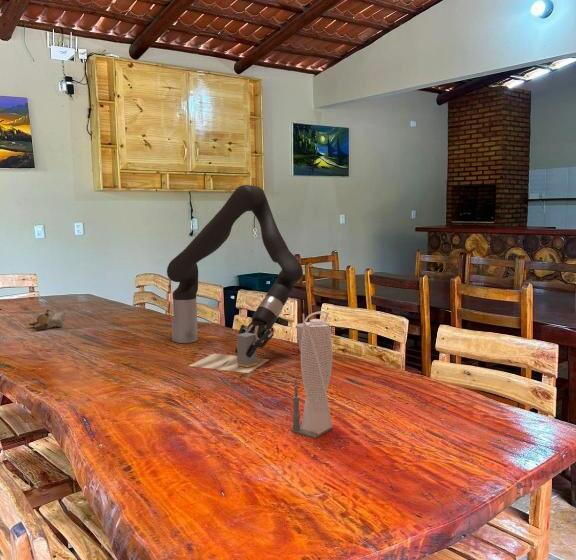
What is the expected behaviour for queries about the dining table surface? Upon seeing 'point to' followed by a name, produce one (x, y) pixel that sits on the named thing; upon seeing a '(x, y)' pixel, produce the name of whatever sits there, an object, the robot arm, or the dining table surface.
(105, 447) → the dining table surface
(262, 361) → the board
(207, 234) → the robot arm
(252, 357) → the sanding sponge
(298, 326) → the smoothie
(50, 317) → the ceramic sculpture
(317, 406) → the skyscraper
